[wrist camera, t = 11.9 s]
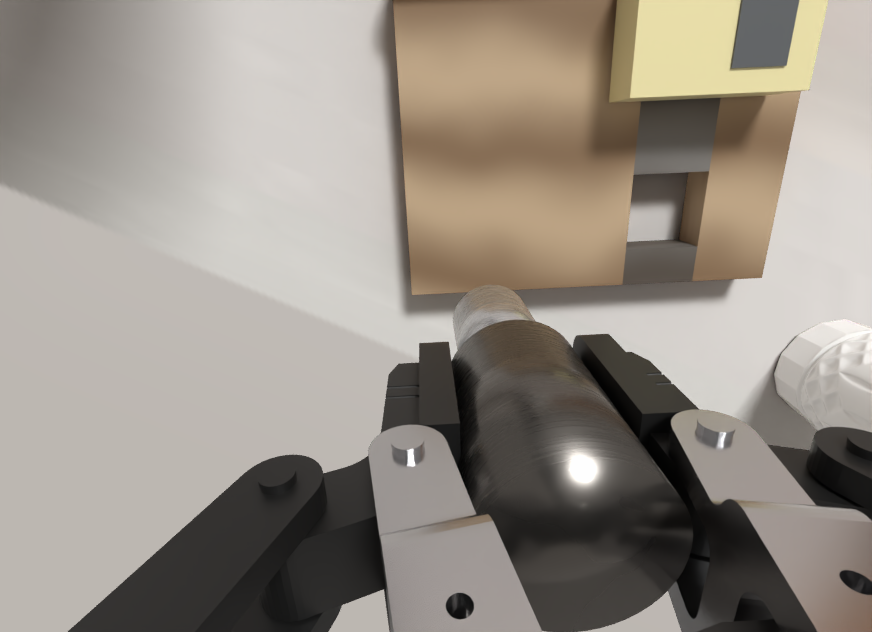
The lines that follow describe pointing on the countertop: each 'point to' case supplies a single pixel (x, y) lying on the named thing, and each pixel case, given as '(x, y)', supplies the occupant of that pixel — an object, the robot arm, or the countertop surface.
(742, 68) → the stud finder
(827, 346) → the white cup
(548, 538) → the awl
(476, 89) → the board
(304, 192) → the countertop surface
